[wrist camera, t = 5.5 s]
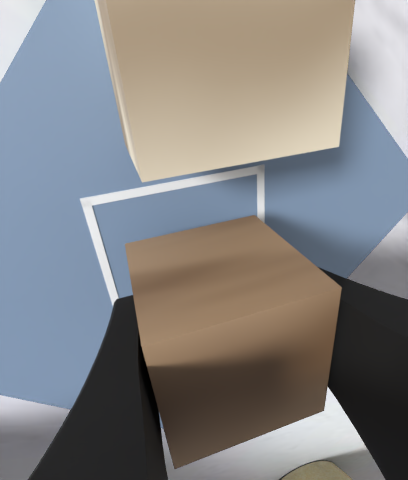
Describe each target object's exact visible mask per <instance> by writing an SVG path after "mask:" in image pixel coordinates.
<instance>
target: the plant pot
mask: <svg viewBox="0 0 408 480" xmlns="http://www.w3.org/2000/svg"><path fill="white" fill-rule="evenodd" d="M281 480H353V479H352V478H350V477H349V476H348V475H347V474H346V473H345V472H343V471H342V470H341V469H340V468H339V467H338V466H336V465H335V464H334V463H332V462H330V461H317V462H313V463H309V464H306V465H304V466H301V467H299V468H297V469H296V470H294V471H292V472H290V473H289V474H287V475H286V476H284V477H283V478H282V479H281Z"/></svg>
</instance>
